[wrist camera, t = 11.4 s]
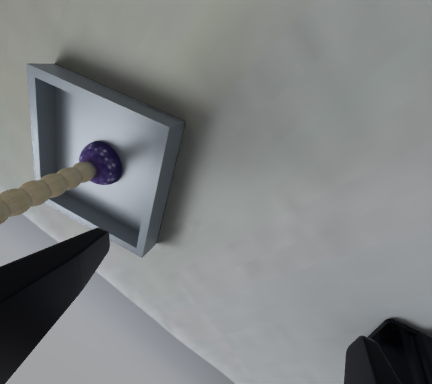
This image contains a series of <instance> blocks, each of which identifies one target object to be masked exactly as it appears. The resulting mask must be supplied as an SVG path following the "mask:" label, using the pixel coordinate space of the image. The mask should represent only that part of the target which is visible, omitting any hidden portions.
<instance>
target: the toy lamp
mask: <svg viewBox="0 0 432 384" xmlns="http://www.w3.org/2000/svg"><path fill="white" fill-rule="evenodd" d="M121 173H122V164H121V161H120V158H119V156H118V154H117V153H116V151H115V150H114V149H113V148H112V147H111V146H110V145H108V144H106V143H104V142H101V141H94V142H92V143H90V144H88V145H87V146H86V147H85V148H84V149H83V150H82V152H81V154H80V158H79V163H77V164H75V165H74V166H72V167H68V168H64V169H61V170H60V171H58V172H57V173H53V174H48V175H45V176H43V177H42V178H41V179H40V180H34V181H29V182H27V183H25V184H23V185H22V186H20V187H19V189H10V190H7V191H4V192H2V193H0V224H1V223H3V222H4V221H5V220H6V219H7V218H8V217H9V216H17V215H19V214H22V213H24V212H25V211H27V210H28V209H29V208H30V206H38V205H40V204H43V203H44V202H46V201H47V200H48V199H49V198H53V197H57V196H59V195H61V194H63V193H64V192H65V191H66V190H70V189H73V188H76V187H77V186H79V185H80V183H85V182H88V181H91V182H93V183H95V184H99V185H110V184H113V183H115V182H117V181H118V180H119V178H120V176H121Z"/></svg>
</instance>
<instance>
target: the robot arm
mask: <svg viewBox="0 0 432 384" xmlns="http://www.w3.org/2000/svg"><path fill="white" fill-rule="evenodd" d="M109 247H110V240H109V232H108V231H106V230H104V229H101V228H95V229H93V230H90V231H88V232H85V233H83V234H80V235H78V236H75V237H73V238H70V239H68V240H65V241H63V242H60V243H58V244H55V245H53V246H51V247H48V248H46V249H43V250H41V251H38V252H36V253H33V254H31V255H28V256H26V257H23V258H21V259H18V260H16V261H13V262H11V263H8V264H6V265H4V266H1V267H0V384H5V383H6V382H7V381H8V379H9V378H10V377H11V376H12V375H13V373H14V372H15V371H16V370H17V368H18V367H19V366H20V365H21V364H22V363H23V361H24V360H25V359H26V358H27V356H28V355H29V354H30V353H31V352H32V350H33V349H34V348H35V347H36V346H37V344H38V343H39V342H40V341H41V339H42V338H43V337H44V336H45V335H46V334H47V332H48V331H49V330H50V329H51V327H52V326H53V325H54V324H55V323H56V321H57V320H58V319H59V318H60V317H61V315H62V314H63V313H64V312H65V311H66V309H67V308H68V307H69V306H70V305H71V303H72V302H73V301H74V300H75V298H76V297H77V296H78V295H79V294H80V292H81V291H82V290H83V288H84V287H85V286H86V284H87V283H88V281H89V280H90V278H91V277H92V275H93V274H94V272H95V271H96V269H97V268H98V266H99V265H100V263H101V262H102V260H103V259H104V257H105V256H106V254H107V253H108V251H109ZM390 325H393V326H390ZM344 384H432V339H431V338H429V337H428V336H426V335H424V334H422V333H420V332H418V331H416V330H414V329H412V328H410V327H408V326H406V325H404V324H402V323H400V322H398V321H396V320H394V319H387V320H385V321H384V322H383V323H382V324H381V325H380V326H379V327H378V328H377V329H376V330H374V331H373V332H372V333H371V334H370V335H369V336H368V337H365V336H360V337H358V338H357V339H356V340H355V341H354V342H353V343H352V344H351V345H350V346H349V347H348V349H347V352H346V363H345V377H344Z"/></svg>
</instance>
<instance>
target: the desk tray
mask: <svg viewBox="0 0 432 384" xmlns="http://www.w3.org/2000/svg"><path fill="white" fill-rule="evenodd" d="M27 74H28V88H29V102H30V117H31V131H32V146H33V160H34V175H35V180H40V179H41V178H42V177H43V176H45V175H48V174H53V173H57V172H58V171H60V170H61V169H64V168H68V167H72V166H74V165H75V164H77V163H79V158H80V154H81V152H82V150H83V149H84V148H85V147H86V146H87V145H88V144H90V143H92V142H94V141H101V142H104V143H106V144H108V145H110V146H111V147H112V148H113V149H114V150H115V151H116V153H117V154H118V156H119V158H120V161H121V164H122V173H121V176H120V178H119V180H118V181H117V182H115V183H113V184H110V185H99V184H95V183H93V182H91V181H88V182H85V183H80V185H79V186H77V187H76V188H73V189H70V190H66V191H65V192H64V193H63V194H61V195H59V196H57V197H53V198H49V199H48V200H47V201H46V202H44V203H46V204H48V205H50V206H51V207H53V208H55V209H57V210H58V211H60V212H62V213H64V214H65V215H67V216H69V217H71V218H72V219H74V220H76V221H78V222H80V223H81V224H83V225H85V226H87V227H88V228H90V229H92V230H93V229H95V228H101V229H104V230H106V231H108V232H109V240H111V241H113V242H115V243H117V244H118V245H120V246H122V247H124V248H125V249H127V250H129V251H131V252H132V253H134V254H136V255H138V256H139V257H141V258H142V257H143V256H144V255H145V254H146V253H147V252H148V251H149V250H150V249H151V248H152V247H153V246H154V245H155V244H156V243H157V239H158V234H159V230H160V226H161V222H162V218H163V213H164V209H165V205H166V201H167V197H168V193H169V188H170V184H171V180H172V176H173V172H174V168H175V163H176V159H177V155H178V151H179V147H180V143H181V138H182V134H183V130H184V126H185V122H186V121H184V120H182V119H179V118H177V117H175V116H172V115H170V114H168V113H165V112H163V111H161V110H159V109H156V108H154V107H152V106H149V105H147V104H145V103H143V102H140V101H138V100H136V99H133V98H131V97H129V96H126V95H124V94H122V93H120V92H117V91H115V90H113V89H110V88H108V87H106V86H104V85H101V84H99V83H97V82H94V81H92V80H90V79H87V78H85V77H83V76H81V75H78V74H76V73H74V72H71V71H69V70H67V69H65V68H62V67H60V66H58V65H55V64H27Z"/></svg>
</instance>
